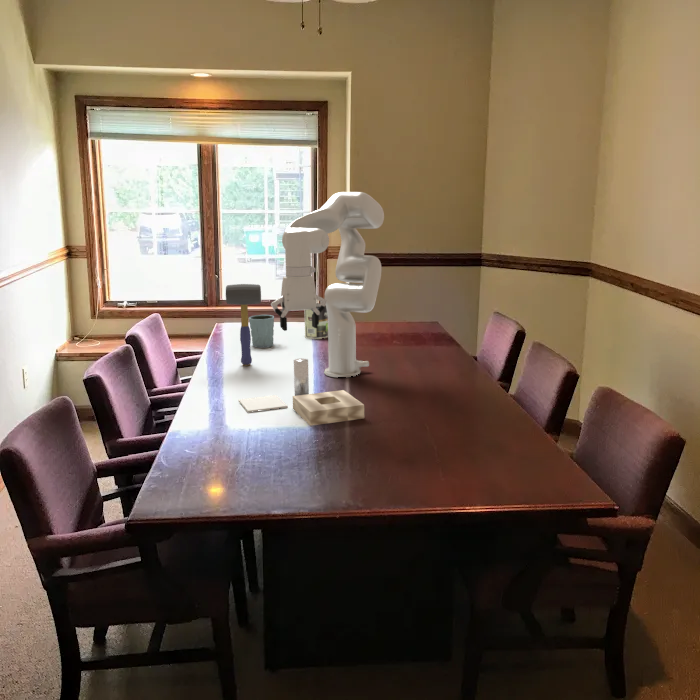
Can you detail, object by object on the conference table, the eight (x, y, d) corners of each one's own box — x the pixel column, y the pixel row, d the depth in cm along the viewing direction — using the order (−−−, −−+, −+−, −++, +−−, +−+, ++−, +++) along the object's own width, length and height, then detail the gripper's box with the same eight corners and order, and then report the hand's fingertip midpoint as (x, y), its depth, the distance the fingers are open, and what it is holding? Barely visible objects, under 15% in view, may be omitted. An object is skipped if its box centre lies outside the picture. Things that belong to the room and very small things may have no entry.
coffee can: (328, 334, 312) (328, 302, 309) (327, 339, 302) (327, 306, 299) (305, 334, 312) (304, 303, 309) (303, 339, 302) (302, 306, 299)
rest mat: (276, 396, 220) (276, 395, 220) (287, 407, 209) (287, 405, 209) (238, 401, 215) (238, 399, 215) (247, 412, 205) (247, 410, 204)
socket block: (343, 402, 213) (343, 390, 212) (364, 418, 199) (364, 404, 198) (292, 409, 207) (292, 396, 207) (310, 425, 193) (310, 411, 192)
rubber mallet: (264, 362, 263) (261, 282, 256) (263, 367, 256) (259, 285, 249) (230, 363, 262) (226, 282, 256) (228, 368, 255) (224, 285, 248)
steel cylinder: (306, 395, 221) (305, 357, 219) (310, 398, 217) (310, 361, 215) (292, 396, 220) (291, 359, 217) (297, 400, 216) (296, 362, 213)
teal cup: (279, 344, 293) (278, 316, 290) (264, 349, 284) (263, 320, 282) (260, 341, 298) (259, 313, 295) (245, 346, 290) (243, 317, 287)
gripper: (321, 269, 216) (322, 324, 220) (266, 272, 210) (268, 328, 214) (330, 272, 210) (330, 328, 213) (273, 274, 203) (275, 333, 207)
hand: (299, 328), depth 214 cm, fingers open, 9 cm apart
